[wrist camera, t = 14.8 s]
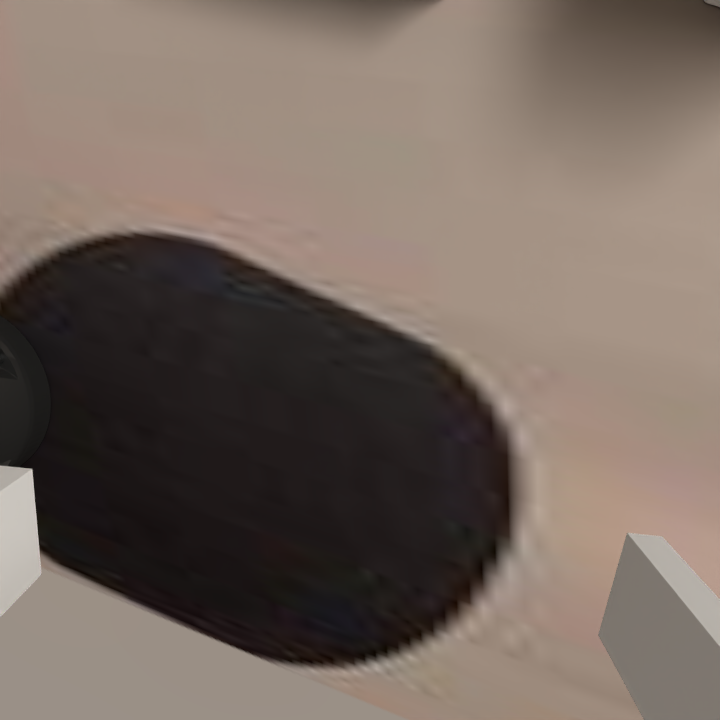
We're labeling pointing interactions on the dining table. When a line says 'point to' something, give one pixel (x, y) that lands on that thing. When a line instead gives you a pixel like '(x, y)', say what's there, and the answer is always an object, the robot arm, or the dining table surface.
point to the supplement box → (713, 2)
